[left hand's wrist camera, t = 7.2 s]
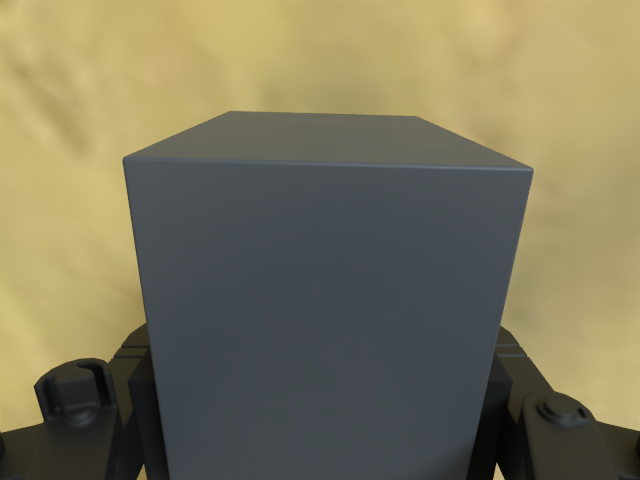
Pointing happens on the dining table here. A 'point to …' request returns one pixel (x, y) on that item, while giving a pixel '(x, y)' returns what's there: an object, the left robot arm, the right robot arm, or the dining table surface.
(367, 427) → the beam
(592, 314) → the dining table surface
